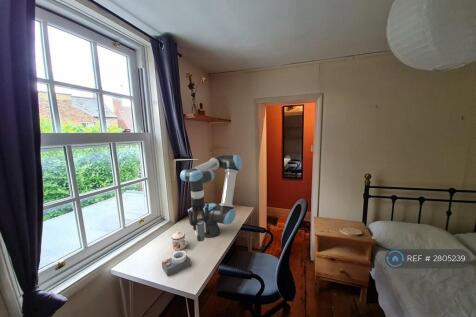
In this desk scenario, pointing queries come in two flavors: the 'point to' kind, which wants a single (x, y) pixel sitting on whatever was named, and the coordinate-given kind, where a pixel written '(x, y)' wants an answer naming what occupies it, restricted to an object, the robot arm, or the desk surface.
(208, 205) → the robot arm
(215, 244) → the desk surface
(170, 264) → the camera body
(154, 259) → the desk surface
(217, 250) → the desk surface
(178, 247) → the teacup with lid
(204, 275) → the desk surface
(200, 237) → the grey flashlight
